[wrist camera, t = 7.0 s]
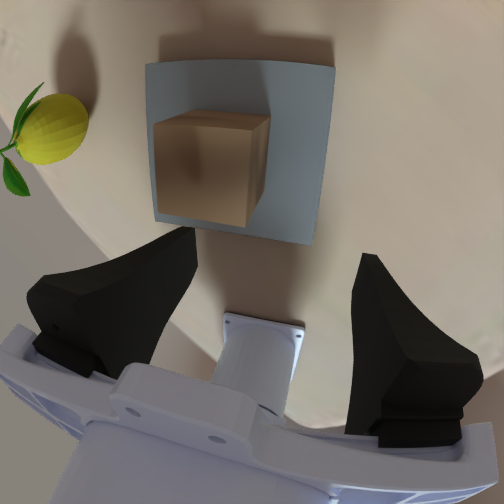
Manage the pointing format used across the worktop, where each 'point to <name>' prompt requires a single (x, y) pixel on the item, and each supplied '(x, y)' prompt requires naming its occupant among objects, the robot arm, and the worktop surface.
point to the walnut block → (211, 165)
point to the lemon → (44, 134)
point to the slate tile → (280, 138)
